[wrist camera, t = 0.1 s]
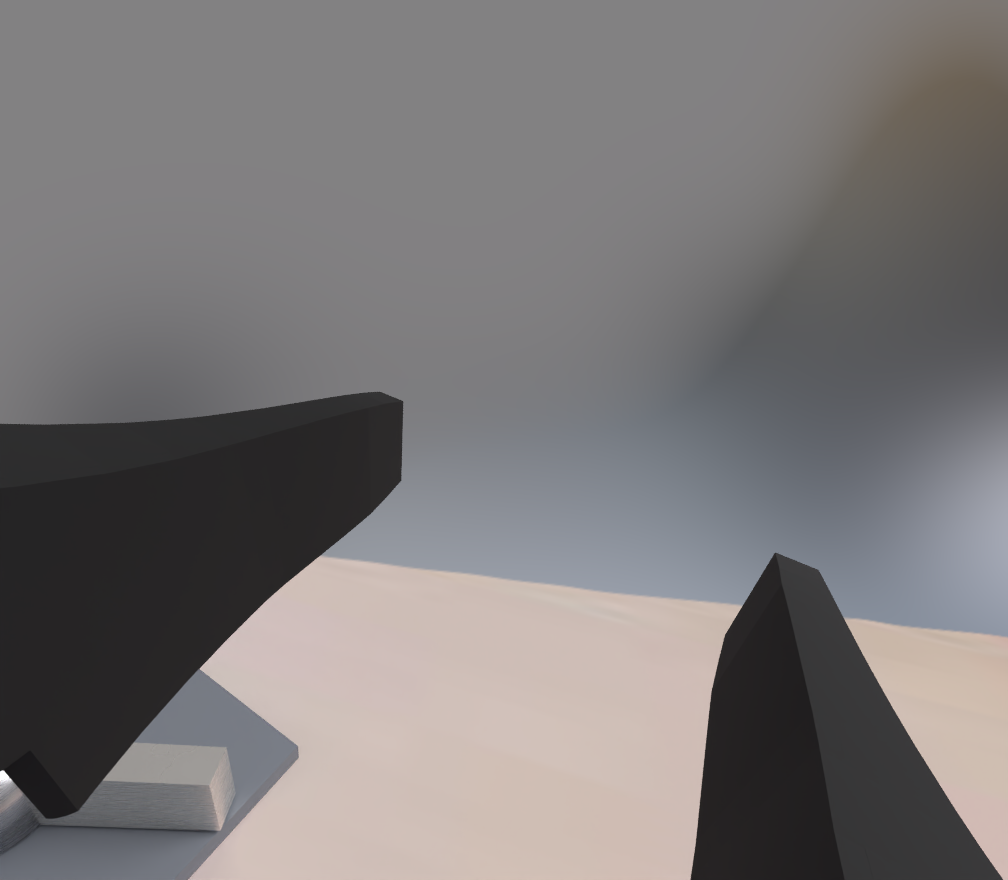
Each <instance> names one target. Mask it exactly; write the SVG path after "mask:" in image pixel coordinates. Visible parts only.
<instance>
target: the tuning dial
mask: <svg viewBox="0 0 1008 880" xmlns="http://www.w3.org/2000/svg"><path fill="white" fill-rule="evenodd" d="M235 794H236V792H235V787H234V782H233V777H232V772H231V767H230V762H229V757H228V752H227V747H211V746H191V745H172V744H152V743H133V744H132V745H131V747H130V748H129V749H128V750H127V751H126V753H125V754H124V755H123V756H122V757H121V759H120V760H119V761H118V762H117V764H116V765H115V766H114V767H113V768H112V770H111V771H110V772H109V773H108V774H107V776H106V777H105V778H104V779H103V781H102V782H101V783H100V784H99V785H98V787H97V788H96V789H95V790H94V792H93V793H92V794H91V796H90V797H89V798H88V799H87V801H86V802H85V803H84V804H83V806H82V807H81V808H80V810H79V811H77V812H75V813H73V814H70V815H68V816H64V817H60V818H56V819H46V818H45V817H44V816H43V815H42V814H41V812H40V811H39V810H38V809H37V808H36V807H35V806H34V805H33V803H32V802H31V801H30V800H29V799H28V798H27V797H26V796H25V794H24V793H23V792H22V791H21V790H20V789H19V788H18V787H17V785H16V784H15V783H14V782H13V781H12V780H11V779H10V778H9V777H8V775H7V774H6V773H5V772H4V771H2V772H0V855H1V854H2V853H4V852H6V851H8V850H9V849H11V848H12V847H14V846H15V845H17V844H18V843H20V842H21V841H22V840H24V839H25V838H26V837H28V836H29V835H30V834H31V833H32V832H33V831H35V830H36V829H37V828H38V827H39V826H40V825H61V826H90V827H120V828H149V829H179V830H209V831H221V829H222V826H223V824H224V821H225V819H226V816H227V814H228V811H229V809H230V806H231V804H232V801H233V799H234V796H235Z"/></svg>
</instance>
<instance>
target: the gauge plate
mask: <svg viewBox="0 0 1008 880" xmlns="http://www.w3.org/2000/svg"><path fill="white" fill-rule="evenodd" d="M134 743H152V744H172V745H191V746H211V747H227V752H228V757H229V762H230V767H231V772H232V777H233V782H234V787H235V792H236V794H235V796H234V799H233V801H232V804H231V806H230V809H229V811H228V814H227V816H226V819H225V821H224V824H223V826H222V829H221V831H209V830H179V829H149V828H120V827H90V826H61V825H40V826H39V827H38V828H37V829H36V830H35V831H33V832H32V833H31V834H30V835H29V836H28V837H26V838H25V839H24V840H22V841H21V842H20V843H18V844H17V845H15V846H14V847H12V848H11V849H9V850H8V851H6V852H4V853H2V854H1V855H0V880H188V879H189V878H190V877H191V875H192V874H193V873H194V872H195V871H196V870H197V869H198V868H199V867H200V866H201V864H202V863H203V862H204V861H205V860H206V859H207V858H208V857H209V856H210V855H211V853H212V852H213V851H214V850H215V849H216V848H217V847H218V846H219V845H220V844H221V842H222V841H223V840H224V839H225V838H226V837H227V836H228V835H229V834H230V833H231V831H232V830H233V829H234V828H235V827H236V826H237V825H238V824H239V823H240V822H241V820H242V819H243V818H244V817H245V816H246V815H247V814H248V813H249V812H250V811H251V809H252V808H253V807H254V806H255V805H256V804H257V803H258V802H259V801H260V799H261V798H262V797H263V796H264V795H265V794H266V793H267V792H268V791H269V790H270V788H271V787H272V786H273V785H274V784H275V783H276V782H277V781H278V780H279V779H280V777H281V776H282V775H283V774H284V773H285V772H286V771H287V770H288V769H289V768H290V766H291V765H292V764H293V763H294V762H295V761H296V760H297V759H298V758H299V756H298V746H297V745H296V744H294V743H293V742H292V741H291V740H289V739H288V738H287V737H285V736H284V735H283V734H282V733H280V732H279V731H278V730H276V729H275V728H274V727H273V726H271V725H270V724H269V723H268V722H266V721H265V720H264V719H262V718H261V717H260V716H259V715H257V714H256V713H255V712H253V711H252V710H251V709H250V708H248V707H247V706H246V705H245V704H243V703H242V702H241V701H239V700H238V699H237V698H236V697H234V696H233V695H232V694H230V693H229V692H228V691H227V690H225V689H224V688H223V687H222V686H220V685H219V684H218V683H216V682H215V681H214V680H213V679H211V678H210V677H209V676H207V675H206V674H205V673H204V672H202V671H201V670H200V669H199V670H198V671H197V672H196V673H195V674H194V675H193V676H192V677H191V678H190V679H189V680H188V681H187V682H186V683H185V685H184V686H183V687H182V688H181V689H180V690H179V691H178V692H177V694H176V695H175V696H174V697H173V698H172V699H171V700H170V701H169V703H168V704H167V705H166V706H165V707H164V708H163V709H162V711H161V712H160V713H159V714H158V715H157V716H156V717H155V718H154V720H153V721H152V722H151V723H150V724H149V725H148V726H147V727H146V729H145V730H144V731H143V732H142V733H141V734H140V736H139V737H138V738H137V739H136V740H135V742H134Z"/></svg>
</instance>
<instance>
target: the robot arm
mask: <svg viewBox="0 0 1008 880" xmlns="http://www.w3.org/2000/svg"><path fill="white" fill-rule="evenodd" d="M402 426H403V401H401V400H399V399H396V398H394V397H391V396H389V395H386V394H384V393H382V392H368V393H359V394H351V395H343V396H337V397H330V398H324V399H318V400H312V401H306V402H300V403H294V404H288V405H282V406H276V407H269V408H264V409H255V410H248V411H241V412H233V413H226V414H219V415H212V416H204V417H196V418H185V419H175V420H161V421H147V422H135V423H105V424H60V425H59V424H58V425H30V424H29V425H28V424H27V425H26V424H0V772H2V771H4V772H5V773H6V774H7V775H8V777H9V778H10V779H11V780H12V781H13V782H14V783H15V784H16V785H17V787H18V788H19V789H20V790H21V791H22V792H23V793H24V794H25V796H26V797H27V798H28V799H29V800H30V801H31V802H32V803H33V805H34V806H35V807H36V808H37V809H38V810H39V811H40V812H41V814H42V815H43V816H44V817H45V818H46V819H56V818H60V817H64V816H68V815H70V814H73V813H75V812H77V811H79V810H80V808H81V807H82V806H83V804H84V803H85V802H86V801H87V799H88V798H89V797H90V796H91V794H92V793H93V792H94V790H95V789H96V788H97V787H98V785H99V784H100V783H101V782H102V781H103V779H104V778H105V777H106V776H107V774H108V773H109V772H110V771H111V770H112V768H113V767H114V766H115V765H116V764H117V762H118V761H119V760H120V759H121V757H122V756H123V755H124V754H125V753H126V751H127V750H128V749H129V748H130V747H131V745H132V744H133V743H134V742H135V740H136V739H137V738H138V737H139V736H140V734H141V733H142V732H143V731H144V730H145V729H146V727H147V726H148V725H149V724H150V723H151V722H152V721H153V720H154V718H155V717H156V716H157V715H158V714H159V713H160V712H161V711H162V709H163V708H164V707H165V706H166V705H167V704H168V703H169V701H170V700H171V699H172V698H173V697H174V696H175V695H176V694H177V692H178V691H179V690H180V689H181V688H182V687H183V686H184V685H185V683H186V682H187V681H188V680H189V679H190V678H191V677H192V676H193V675H194V674H195V673H196V672H197V671H198V670H199V668H200V667H201V666H202V665H203V664H204V663H205V662H206V661H207V660H208V659H209V658H210V657H211V656H212V655H213V654H214V653H215V652H216V651H217V650H218V648H219V647H220V646H221V645H222V644H223V643H224V642H225V641H226V640H227V639H228V638H229V637H230V636H231V635H232V634H233V633H234V632H235V631H236V630H237V629H238V628H239V627H240V626H241V625H242V624H243V623H244V622H245V621H246V620H247V619H248V618H249V617H250V616H251V615H252V614H253V613H254V612H255V611H256V610H257V609H258V608H259V607H260V606H261V605H262V604H263V603H264V602H265V601H266V600H267V599H269V598H270V597H271V596H272V595H273V594H274V593H275V592H277V591H278V590H279V589H280V588H281V587H282V586H283V585H285V584H286V583H287V582H288V581H289V580H291V579H292V578H293V577H294V576H296V575H297V574H298V573H299V572H300V571H302V570H303V569H304V568H305V567H307V566H308V565H309V564H310V563H312V562H313V561H314V560H315V559H316V558H318V557H319V556H320V555H321V554H323V553H324V552H325V551H326V550H327V549H329V548H330V547H331V546H332V545H334V544H335V543H336V542H337V541H339V540H340V539H341V538H342V537H344V536H345V535H346V534H347V533H348V532H350V531H351V530H352V529H353V528H354V527H356V526H357V525H358V524H359V523H360V522H362V521H363V520H364V519H365V518H366V517H367V516H369V515H370V514H371V513H372V512H373V511H374V509H376V507H378V506H379V504H380V503H381V502H382V501H383V500H384V499H385V498H386V497H387V496H388V495H389V494H390V493H391V491H392V490H393V489H394V488H395V487H396V486H397V485H398V483H399V482H400V481H401V466H402ZM691 880H1003V879H1002V877H1001V876H1000V875H999V873H998V872H997V870H996V869H995V868H994V866H993V865H992V863H991V862H990V860H989V859H988V858H987V856H986V855H985V853H984V852H983V850H982V849H981V848H980V846H979V845H978V843H977V842H976V840H975V839H974V837H973V836H972V834H971V833H970V831H969V830H968V828H967V827H966V825H965V824H964V822H963V821H962V819H961V818H960V816H959V815H958V813H957V812H956V810H955V808H954V807H953V805H952V804H951V802H950V801H949V799H948V797H947V796H946V794H945V793H944V791H943V789H942V788H941V786H940V785H939V783H938V781H937V780H936V778H935V777H934V775H933V774H932V772H931V770H930V769H929V767H928V766H927V764H926V762H925V761H924V759H923V758H922V756H921V754H920V753H919V751H918V750H917V748H916V746H915V745H914V743H913V742H912V740H911V738H910V736H909V735H908V733H907V731H906V730H905V728H904V726H903V725H902V723H901V721H900V720H899V718H898V716H897V715H896V713H895V711H894V709H893V708H892V706H891V704H890V702H889V701H888V699H887V697H886V696H885V694H884V692H883V690H882V688H881V687H880V685H879V683H878V681H877V679H876V678H875V676H874V674H873V672H872V671H871V669H870V667H869V665H868V663H867V661H866V660H865V658H864V656H863V654H862V652H861V650H860V648H859V647H858V645H857V643H856V641H855V639H854V637H853V635H852V633H851V631H850V629H849V628H848V626H847V624H846V622H845V620H844V618H843V616H842V614H841V612H840V610H839V609H838V607H837V604H836V603H835V601H834V599H833V597H832V595H831V593H830V591H829V589H828V587H827V585H826V583H825V582H824V579H823V578H822V576H821V574H820V572H819V571H818V570H817V569H815V568H812V567H810V566H807V565H805V564H802V563H800V562H797V561H795V560H792V559H790V558H787V557H785V556H783V555H780V554H778V553H775V554H774V555H773V557H772V559H771V560H770V562H769V564H768V565H767V567H766V569H765V570H764V572H763V574H762V575H761V577H760V578H759V580H758V582H757V583H756V585H755V587H754V588H753V590H752V592H751V593H750V595H749V597H748V598H747V600H746V602H745V603H744V605H743V606H742V608H741V610H740V611H739V613H738V615H737V616H736V618H735V620H734V621H733V623H732V625H731V626H730V628H729V629H728V631H727V633H726V634H725V638H724V642H723V646H722V650H721V654H720V658H719V662H718V666H717V670H716V675H715V679H714V684H713V688H712V693H711V702H710V711H709V720H708V730H707V739H706V749H705V759H704V768H703V778H702V788H701V798H700V808H699V818H698V828H697V838H696V846H695V853H694V860H693V867H692V874H691Z"/></svg>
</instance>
